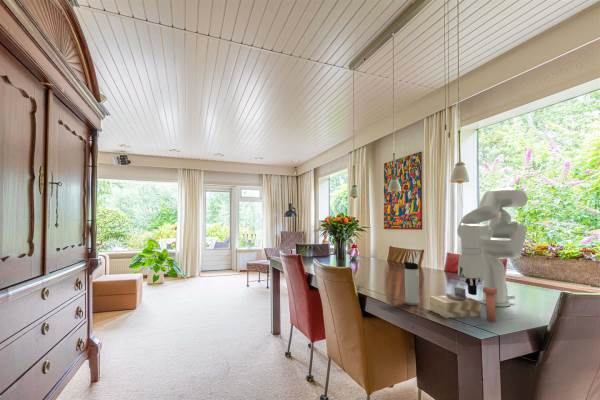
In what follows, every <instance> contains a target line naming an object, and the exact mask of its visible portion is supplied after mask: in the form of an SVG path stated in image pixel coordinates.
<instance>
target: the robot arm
mask: <svg viewBox="0 0 600 400" xmlns="http://www.w3.org/2000/svg"><path fill="white" fill-rule="evenodd" d="M527 202H528V195H527V193H526V192H525V191H524V190H523V189H522V190H521V189H518V188H513V187H507V188H504V187H503V188H492V189H488V190H487V191H486V192H484V195H483V196H482V198H481V201H480V203H479V204H478V207H476V208H475V209H473V210H471V211H470V212H468V213H467V214H465V215H464V216H463V217H462V218H461V220H460V222H459V224H458V227H457V230H456V231H457V236H458V237H459V239H460V245H461V247H460V248H461V253H460V254H459V257H458V263H457V264H458V265H457V276H458V277H459V280H460V281H462V282H465V283H466V285H467V294H469V295H472V296H477V295H478V294H477V291H478V289H477V286H479V283H480V282H481V284H482V285H481V286H482V287H481V288H482V289H481V290H482V291H481V292H482V297H480V298H479V300H478V301H480V304H483V305H486V293H484V292H483V288H484V287H489V288H495V289H497V294H494V296H495V307H502V308H503V307H504V308H505V307H509V306H511V302H510V300H515V299H516V297H515V295H514V294H507V291H506V290H507V287H506V270H505V269H506V268H505V266H504V263H503V262H502V261H501V260H500V259H509V260H511V259H512V260H516V259H519V258H520V257H521V256H522V253H523V249H524V245H525V241H526V237H527V230H526V225H524V224H523V223H522V222H519V221H512V216H511V215H510V214H509V212H508V211H507V210H505V209H504V208H523V207H525V206H526V204H528V203H527ZM487 221H489V224H486V223H484V222H487Z"/></svg>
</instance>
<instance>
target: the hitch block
mask: <svg viewBox="0 0 600 400" xmlns="http://www.w3.org/2000/svg"><path fill="white" fill-rule="evenodd" d="M466 297H467V300H454V299H452V298H449V297H447V296H446V295H431V296H430V295H429V305H430V306H429V308H430V311H432V312H434V313H436V314H437V313H438V315H439V314H440V316H441V315H442V316H441V317H443V318H446V319H448V318H449V317H451V318H466V317H467V318H468V317H471V318H472V317H481V316H482V310H481V302H480V301H479V300H478V299H475V298H472V297H469V296H467V295H466ZM449 319H450V318H449Z"/></svg>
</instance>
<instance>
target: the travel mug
mask: <svg viewBox="0 0 600 400" xmlns="http://www.w3.org/2000/svg"><path fill="white" fill-rule="evenodd" d="M403 264H404V293H405V294H404V295H405V297H404V298H405V304H406V305H409V306H418V305H420V287H419V285H420V282H419V280H420V279H419V263H416V262H412V261H404V262H403Z"/></svg>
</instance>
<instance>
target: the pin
mask: <svg viewBox="0 0 600 400" xmlns="http://www.w3.org/2000/svg"><path fill="white" fill-rule="evenodd" d="M483 292H484V293H486V304H485V308H486V309H485V310H486V311H485V314H486V320H487V321H488V322H493V323H494V322H496V306H495V296H494V294H497V289H495V288H489V287H484V288H483V291H482V293H483Z"/></svg>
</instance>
